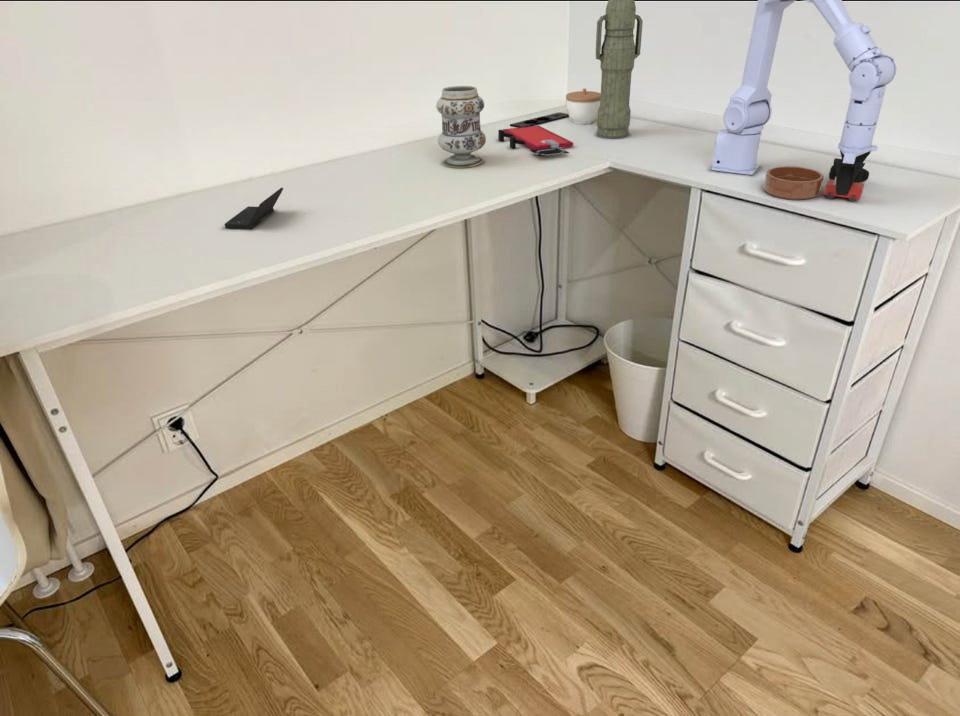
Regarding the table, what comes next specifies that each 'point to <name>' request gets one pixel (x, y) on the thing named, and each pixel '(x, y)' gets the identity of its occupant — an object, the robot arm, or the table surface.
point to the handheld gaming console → (254, 213)
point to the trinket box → (583, 106)
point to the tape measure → (860, 176)
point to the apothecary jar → (461, 125)
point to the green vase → (617, 66)
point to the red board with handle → (536, 140)
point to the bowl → (793, 182)
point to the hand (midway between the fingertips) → (844, 189)
